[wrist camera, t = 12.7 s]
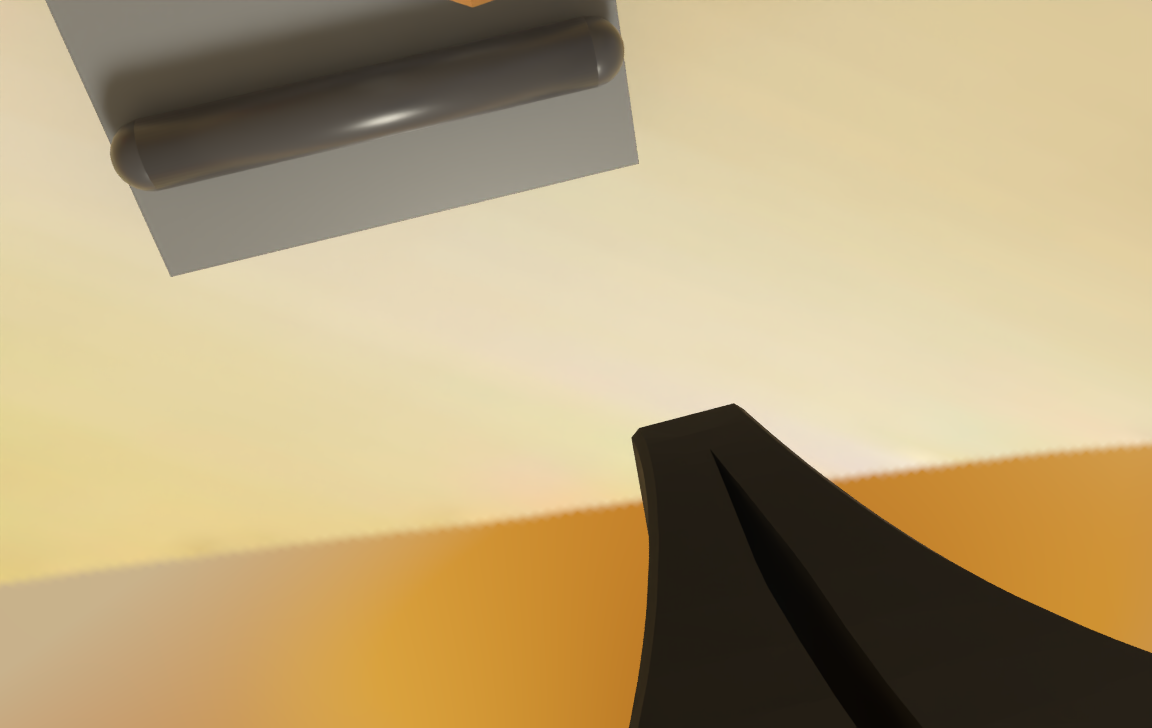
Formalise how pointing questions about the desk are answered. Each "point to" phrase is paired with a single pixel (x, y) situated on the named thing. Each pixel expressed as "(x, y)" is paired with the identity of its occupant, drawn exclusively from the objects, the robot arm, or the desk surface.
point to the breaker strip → (342, 110)
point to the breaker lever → (472, 2)
